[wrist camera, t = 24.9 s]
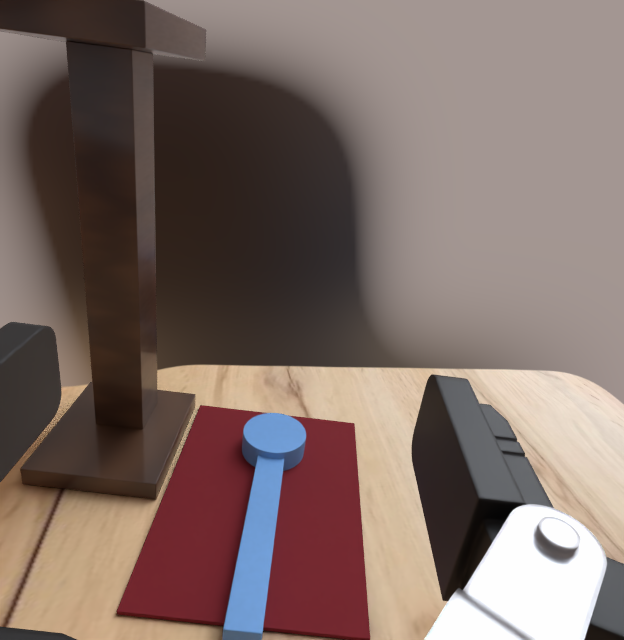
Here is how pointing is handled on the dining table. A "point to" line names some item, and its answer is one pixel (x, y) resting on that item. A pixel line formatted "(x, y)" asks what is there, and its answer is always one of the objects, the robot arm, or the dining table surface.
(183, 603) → the cloth
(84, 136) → the stand
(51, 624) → the dining table surface
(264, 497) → the blue disc paddle
